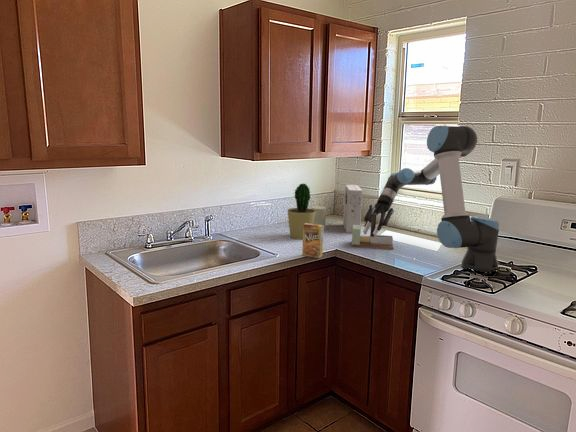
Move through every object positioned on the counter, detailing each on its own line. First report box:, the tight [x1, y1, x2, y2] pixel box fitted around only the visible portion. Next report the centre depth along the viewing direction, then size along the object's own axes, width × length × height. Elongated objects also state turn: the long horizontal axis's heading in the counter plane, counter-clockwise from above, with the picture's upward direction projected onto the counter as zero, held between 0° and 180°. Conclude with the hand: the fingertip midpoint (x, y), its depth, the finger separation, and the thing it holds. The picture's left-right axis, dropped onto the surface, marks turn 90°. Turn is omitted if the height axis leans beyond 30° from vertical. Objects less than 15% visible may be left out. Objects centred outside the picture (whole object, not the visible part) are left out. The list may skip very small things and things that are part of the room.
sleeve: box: [370, 234, 394, 245], centre depth 234 cm, size 4×11×4 cm, turn 81°
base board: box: [351, 242, 394, 250], centre depth 236 cm, size 10×21×1 cm, turn 81°
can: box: [310, 205, 327, 228], centre depth 275 cm, size 9×9×12 cm
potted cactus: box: [286, 182, 316, 240], centre depth 246 cm, size 15×15×30 cm
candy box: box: [301, 223, 325, 259], centre depth 212 cm, size 9×4×15 cm, turn 66°
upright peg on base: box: [360, 212, 378, 242], centre depth 234 cm, size 3×11×15 cm, turn 81°
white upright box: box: [342, 184, 363, 234], centre depth 269 cm, size 22×8×25 cm, turn 179°
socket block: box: [351, 224, 362, 245], centre depth 236 cm, size 10×4×8 cm, turn 171°
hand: (369, 233), depth 231 cm, fingers open, 5 cm apart
